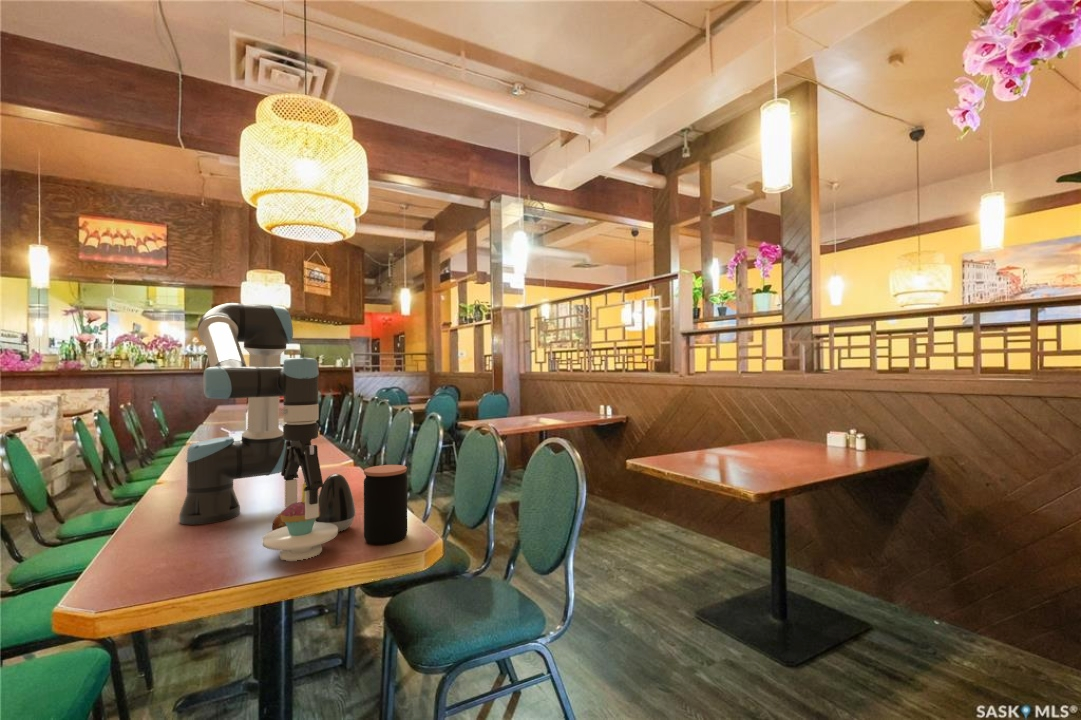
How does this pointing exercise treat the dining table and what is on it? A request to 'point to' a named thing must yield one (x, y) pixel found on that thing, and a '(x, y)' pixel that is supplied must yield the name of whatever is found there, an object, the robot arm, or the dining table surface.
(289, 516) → the cupcake
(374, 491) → the coffee jar
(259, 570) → the dining table surface
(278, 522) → the bread roll
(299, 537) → the cake stand
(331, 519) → the black egg shaped dome
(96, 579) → the dining table surface
